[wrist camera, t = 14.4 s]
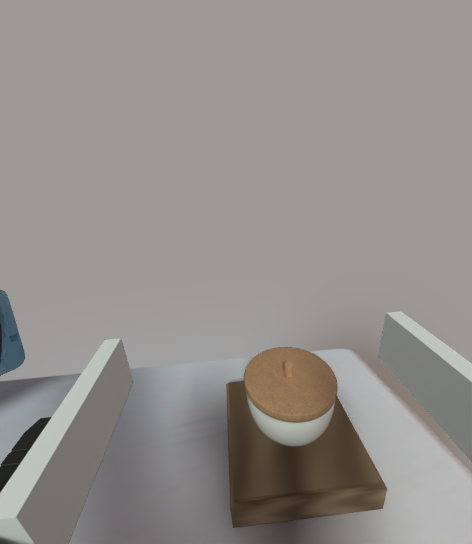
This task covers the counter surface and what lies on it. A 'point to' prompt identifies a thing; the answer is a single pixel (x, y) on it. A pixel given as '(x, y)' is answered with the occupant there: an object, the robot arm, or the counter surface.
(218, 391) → the counter surface
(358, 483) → the walnut stand
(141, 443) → the counter surface
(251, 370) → the lidded jar
